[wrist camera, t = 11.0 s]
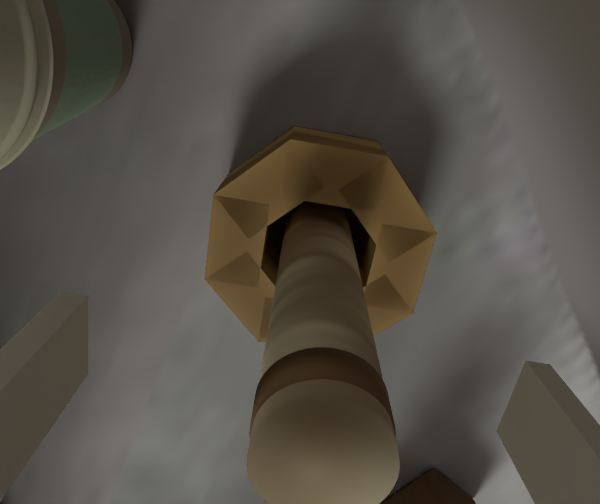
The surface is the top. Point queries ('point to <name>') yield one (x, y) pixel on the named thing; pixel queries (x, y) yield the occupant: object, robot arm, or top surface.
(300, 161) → the tan faceted ring
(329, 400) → the wooden dowel
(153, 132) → the top surface
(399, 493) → the wooden block
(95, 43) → the coffee cup
